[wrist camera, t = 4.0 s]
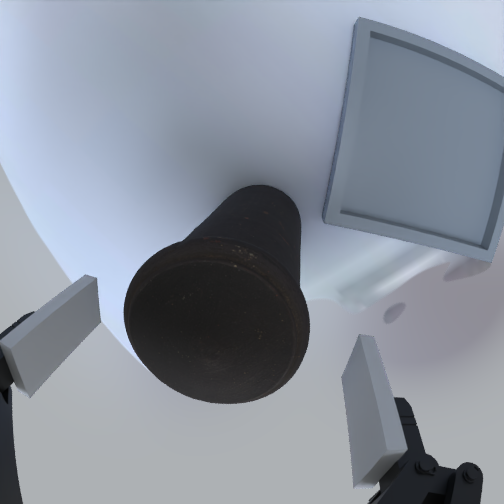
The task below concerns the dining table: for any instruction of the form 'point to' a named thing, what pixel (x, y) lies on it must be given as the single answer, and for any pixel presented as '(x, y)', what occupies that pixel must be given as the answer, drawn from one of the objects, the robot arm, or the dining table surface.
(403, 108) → the tray
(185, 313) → the container
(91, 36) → the dining table surface
